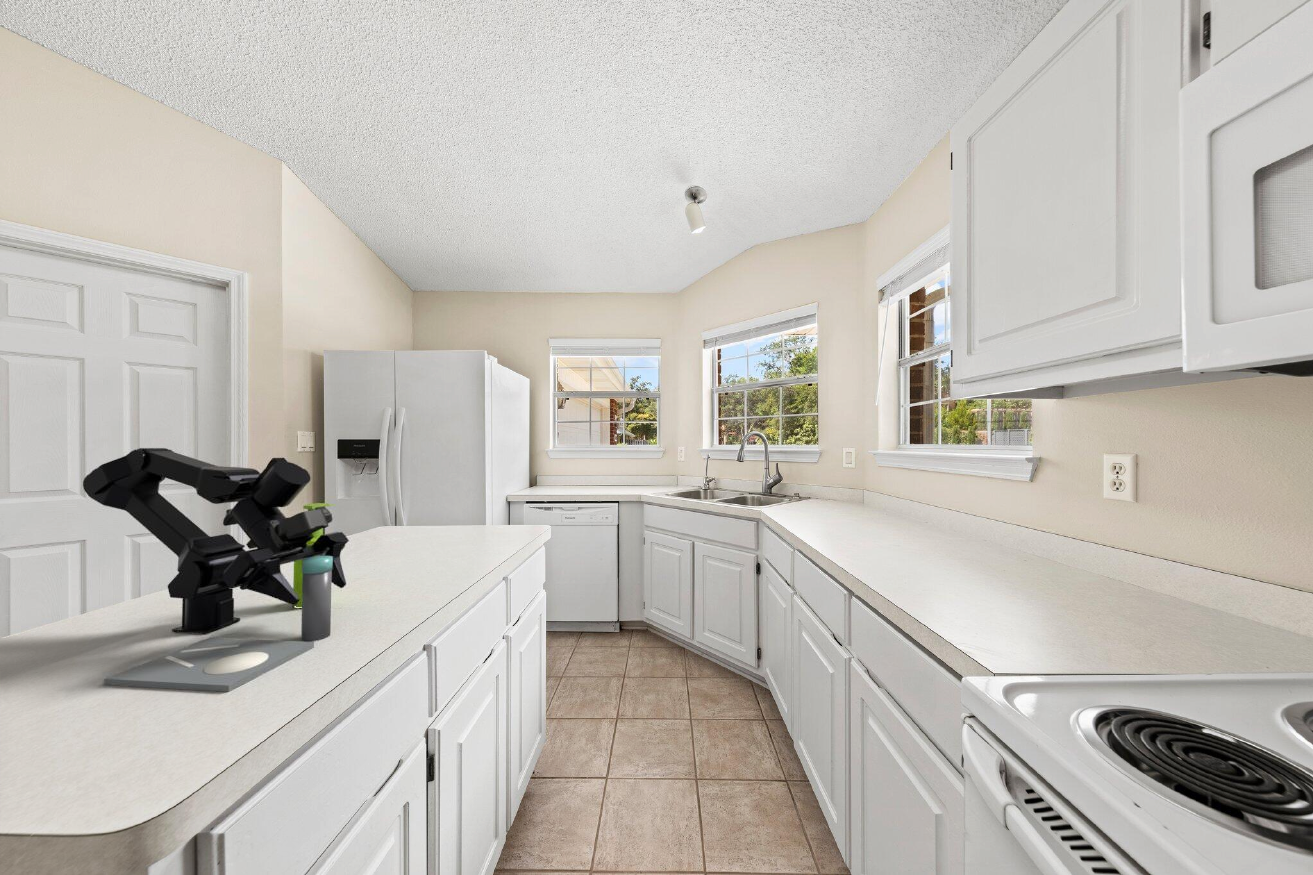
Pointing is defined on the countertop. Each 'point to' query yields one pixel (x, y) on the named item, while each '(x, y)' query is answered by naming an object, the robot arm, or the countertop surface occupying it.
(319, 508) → the robot arm
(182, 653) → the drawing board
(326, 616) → the marker
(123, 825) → the countertop surface
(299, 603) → the soap dispenser
